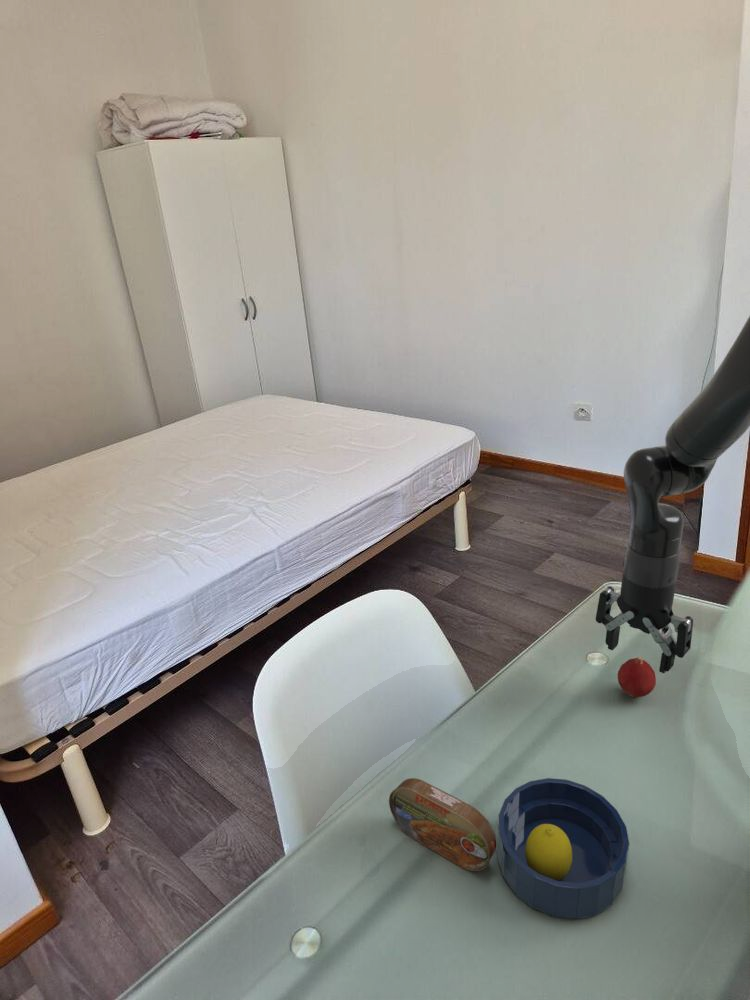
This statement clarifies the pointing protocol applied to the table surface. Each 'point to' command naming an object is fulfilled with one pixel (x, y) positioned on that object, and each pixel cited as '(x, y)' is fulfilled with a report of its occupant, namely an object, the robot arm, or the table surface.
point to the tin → (443, 824)
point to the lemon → (549, 851)
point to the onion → (636, 677)
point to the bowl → (592, 842)
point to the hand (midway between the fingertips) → (637, 658)
